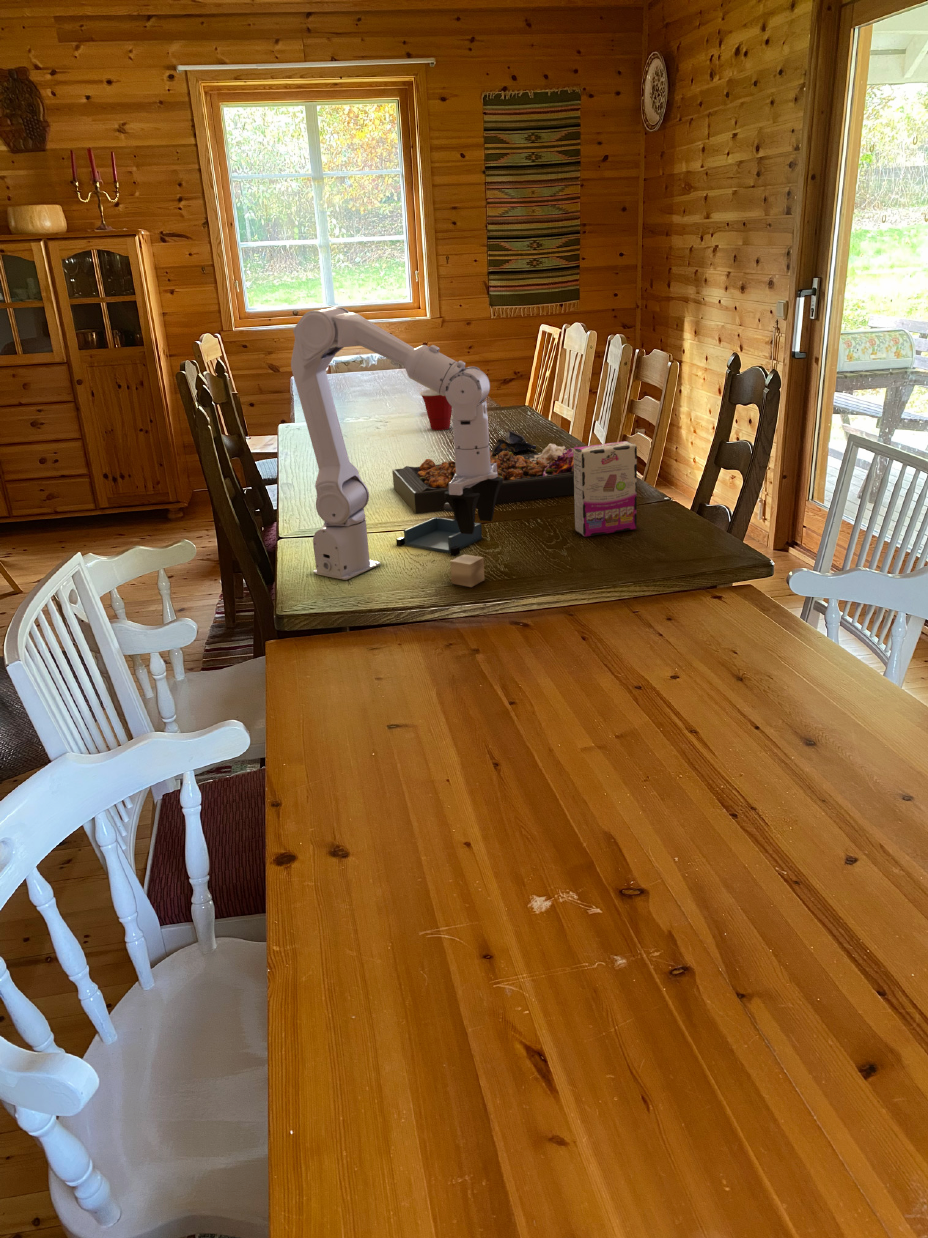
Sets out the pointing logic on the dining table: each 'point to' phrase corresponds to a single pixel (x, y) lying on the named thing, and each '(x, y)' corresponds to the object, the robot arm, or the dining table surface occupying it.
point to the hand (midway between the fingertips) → (476, 526)
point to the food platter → (519, 474)
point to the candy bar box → (605, 488)
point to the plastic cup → (437, 409)
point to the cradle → (454, 550)
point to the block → (467, 570)
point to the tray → (440, 534)
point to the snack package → (511, 443)
